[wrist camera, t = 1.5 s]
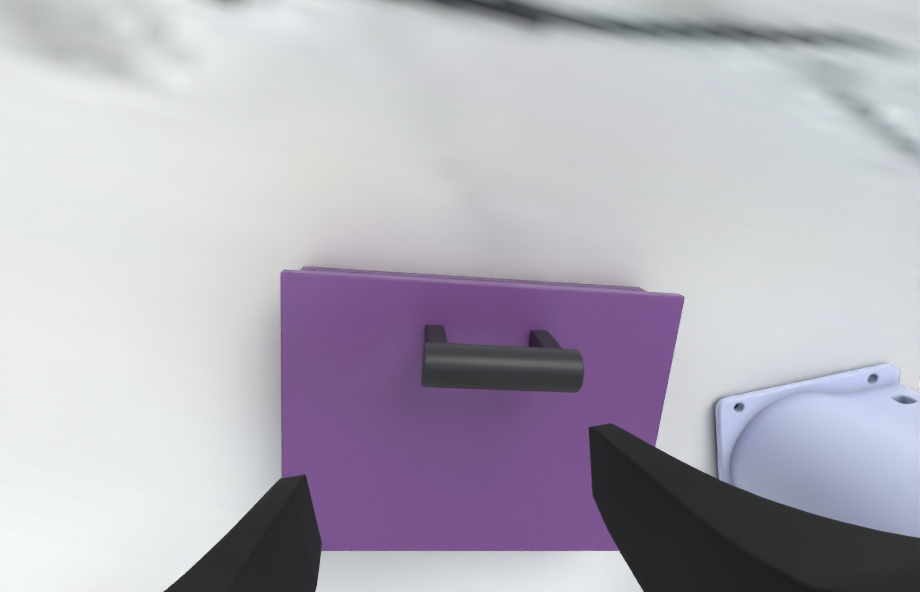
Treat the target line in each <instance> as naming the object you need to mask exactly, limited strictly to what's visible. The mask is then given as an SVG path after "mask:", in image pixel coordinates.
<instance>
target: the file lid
mask: <svg viewBox="0 0 920 592" xmlns="http://www.w3.org/2000/svg"><path fill="white" fill-rule="evenodd" d="M683 303H684V296H682V295H680V294H673V293H657V292H640V291H624V290H608V289H592V288H575V287H559V286H543V285H526V284H510V283H494V282H478V281H461V280H445V279H429V278H412V277H396V276H380V275H364V274H347V273H331V272H315V271H298V270H283V271H282V272H281V431H282V478H286V477H292V476H298V475H304V474H306V478H307V482H308V486H309V490H310V495H311V499H312V503H313V507H314V512H315V516H316V520H317V524H318V528H319V533H320V537H321V541H322V547H321V551H619V549H618V547H617V546H616V544H615V542H614V541H613V539H612V537H611V535H610V534H609V532H608V530H607V528H606V525H605V523H604V521H603V519H602V516H601V514H600V512H599V509H598V507H597V505H596V502H595V500H594V498H593V495H592V478H591V461H590V444H589V428H588V427H591V426H597V425H603V424H609V423H612V424H614V425H616V426H618V427H620V428H622V429H624V430H626V431H627V432H629V433H631V434H633V435H634V436H636V437H638V438H640V439H642V440H643V441H645V442H647V443H649V444H650V445H652V446H654V447H655V444H656V439H657V434H658V429H659V424H660V419H661V414H662V409H663V404H664V399H665V394H666V389H667V384H668V379H669V374H670V369H671V364H672V359H673V354H674V348H675V343H676V338H677V333H678V328H679V323H680V318H681V313H682V308H683Z"/></svg>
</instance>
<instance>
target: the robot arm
mask: <svg viewBox="0 0 920 592" xmlns="http://www.w3.org/2000/svg"><path fill="white" fill-rule="evenodd" d="M869 376H870V378H869V379H868V377H869ZM899 382H900V369H899V368H898V367H897V366H895V365H893V364H890V363H884V364H879V365H875V366H870V367H865V368H861V369H856V370H851V371H847V372H842V373H837V374H833V375H828V376H823V377H818V378H814V379H809V380H804V381H800V382H795V383H790V384H786V385H781V386H776V387H772V388H767V389H762V390H758V391H753V392H748V393H744V394H739V395H734V396H730V397H725V398H722V399H720V400H719V401H718V402H717V404H716V408H715V412H716V433H717V454H718V476H719V479H717V478H715V477H712V476H710V475H708V474H706V473H704V472H702V471H700V470H698V469H696V468H693V467H691V466H690V465H688V464H686V463H684V462H682V461H680V460H678V459H676V458H674V457H672V456H670V455H668V454H667V453H665V452H663V451H661V450H659V449H657V448H656V447H654V446H652V445H650V444H649V443H647V442H645V441H643V440H642V439H640V438H638V437H636V436H634V435H633V434H631V433H629V432H627V431H626V430H624V429H622V428H620V427H618V426H616V425H614V424H612V423H609V424H603V425H597V426H591V427H588V428H589V444H590V461H591V478H592V495H593V498H594V500H595V502H596V505H597V507H598V509H599V512H600V514H601V516H602V519H603V521H604V523H605V525H606V528H607V530H608V532H609V534H610V535H611V537H612V539H613V541H614V542H615V544H616V546H617V547H618V549H619V551H620V553H621V554H622V556H623V558H624V559H625V561H626V563H627V564H628V566H629V568H630V569H631V571H632V573H633V574H634V576H635V578H636V579H637V581H638V583H639V584H640V586H641V588H642V590H643V591H644V592H920V392H918V391H915V390H913V389H911V388H908V387H906V386H904V385H901V384H899ZM737 403H739V405H738V406H737V408H735V409H734V406H735V405H736V404H737ZM321 547H322V541H321V537H320V533H319V528H318V524H317V520H316V516H315V512H314V507H313V503H312V499H311V495H310V490H309V486H308V482H307V478H306V474H304V475H298V476H292V477H286V478H281V479H280V480H279V481H278V482H277V483H275V484H274V485H273V486H272V487H271V489H270V490H269V491H268V492H267V493H266V494H265V495H264V496H263V497H262V498H261V499H260V500H259V501H258V502H257V503H256V504H255V505H254V506H253V507H252V509H251V510H250V511H249V512H248V513H247V514H246V515H245V516H244V517H243V518H242V519H241V520H240V521H239V522H238V523H237V524H236V525H235V526H234V527H233V528H232V529H231V530H230V531H229V532H228V533H227V534H226V535H225V536H224V537H223V538H222V539H221V540H220V541H219V542H218V543H217V544H216V545H215V546H214V547H213V548H212V549H211V550H210V551H209V552H208V553H206V554H205V555H204V556H203V557H202V558H201V559H200V560H199V561H198V562H197V563H196V564H195V565H194V566H193V567H192V568H191V569H190V570H188V571H187V572H186V573H185V574H184V575H183V576H182V577H181V578H179V579H178V580H177V581H176V582H175V583H174V584H172V585H171V586H170V587H169V588H168V589H166V590H165V591H164V592H315V590H316V586H317V580H318V572H319V565H320V556H321Z"/></svg>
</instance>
